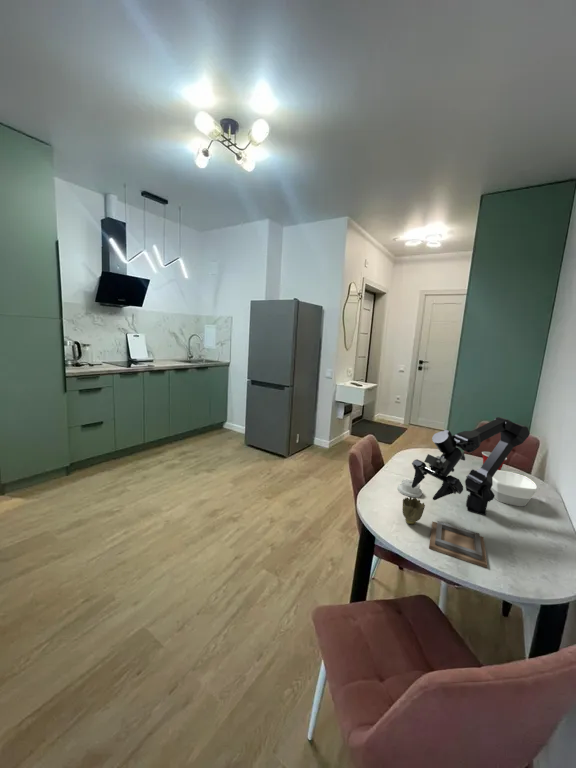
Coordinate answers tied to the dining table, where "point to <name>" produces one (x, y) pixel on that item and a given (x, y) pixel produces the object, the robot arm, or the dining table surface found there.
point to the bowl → (512, 488)
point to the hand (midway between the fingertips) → (422, 493)
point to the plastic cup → (486, 455)
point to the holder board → (458, 543)
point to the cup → (412, 510)
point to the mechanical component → (409, 488)
